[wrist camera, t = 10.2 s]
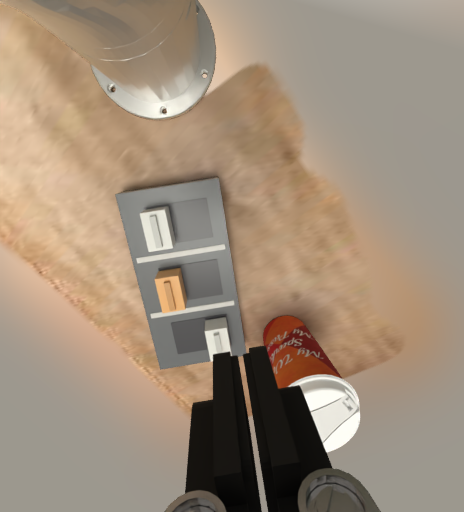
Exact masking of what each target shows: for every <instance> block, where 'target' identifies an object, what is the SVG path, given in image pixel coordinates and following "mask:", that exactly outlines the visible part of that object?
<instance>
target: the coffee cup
mask: <svg viewBox="0 0 464 512" xmlns="http://www.w3.org/2000/svg"><path fill="white" fill-rule="evenodd" d="M263 341H264V346H266V348H267V351H268V355H269V358H270V362H271V365H272V368H273V372H274V375H275V379H276V382H277V386H278V389H279V388H285V387H291V386H297V385H299V386H300V387H301V389H302V392H303V394H304V397H305V399H306V402H307V404H308V407H309V409H310V412H311V415H312V417H313V420H314V422H315V425H316V427H317V430H318V432H319V435H320V438H321V440H322V443H323V445H324V448H325V450H326V452H329V451H332V450H335V449H337V448H339V447H341V446H342V445H344V444H345V443H346V442H348V441H349V440H350V439H351V437H352V436H353V435H354V434H355V432H356V431H357V428H358V426H359V422H360V411H359V399H358V396H357V393H356V391H355V390H354V388H353V387H352V386H351V385H350V384H349V383H347V382H346V381H345V380H343V379H342V377H341V376H340V374H339V373H338V371H337V370H336V369H335V367H334V366H333V364H332V363H331V361H330V360H329V359H328V357H327V356H326V354H325V353H324V351H323V350H322V349H321V347H320V346H319V344H318V343H317V341H316V340H315V339H314V337H313V336H312V334H311V333H310V332H309V330H308V329H307V328H306V326H305V325H304V324H303V323H302V322H301V321H300V320H299V319H297V318H295V317H293V316H280V317H277V318H275V319H273V320H272V321H271V322H270V323H269V324H268V325H267V326H266V328H265V330H264V334H263Z"/></svg>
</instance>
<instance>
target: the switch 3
mask: <svg viewBox="0 0 464 512" xmlns="http://www.w3.org/2000/svg"><path fill="white" fill-rule="evenodd" d="M205 336H206V341H207V346H208V351H209V356H210V361H213V354H217V353H223V352H229V351H230V353H231V356H232V352H231V344H230V338H229V332H228V327H227V321H226V317H223V318H217V319H211V320H205Z"/></svg>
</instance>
